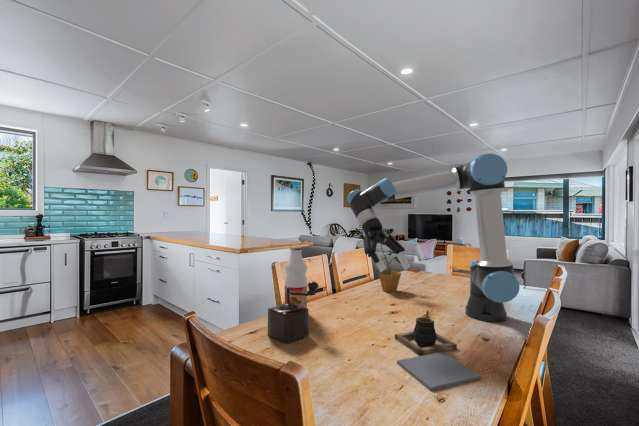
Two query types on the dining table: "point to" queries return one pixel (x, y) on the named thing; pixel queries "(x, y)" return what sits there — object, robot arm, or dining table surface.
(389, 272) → the potted plant
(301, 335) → the pepper mill
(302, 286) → the fruit juice
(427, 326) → the mate gourd
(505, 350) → the dining table surface
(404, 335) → the frame
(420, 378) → the charcoal mat
